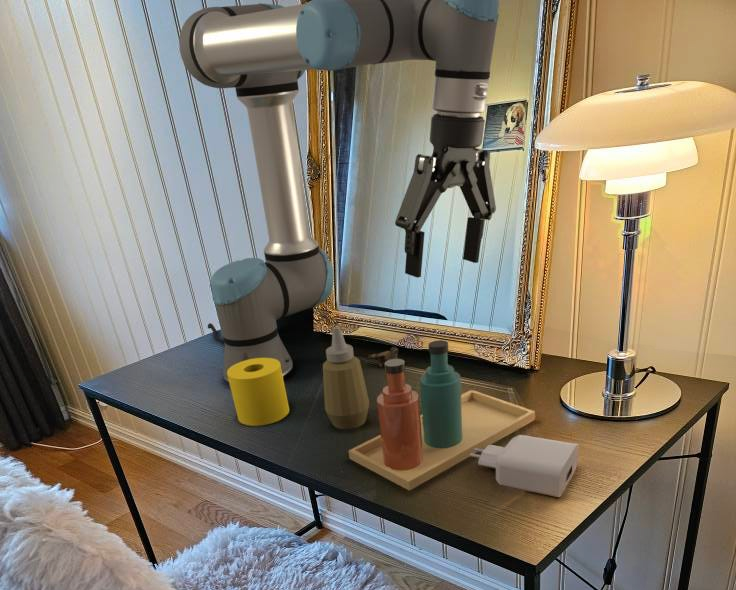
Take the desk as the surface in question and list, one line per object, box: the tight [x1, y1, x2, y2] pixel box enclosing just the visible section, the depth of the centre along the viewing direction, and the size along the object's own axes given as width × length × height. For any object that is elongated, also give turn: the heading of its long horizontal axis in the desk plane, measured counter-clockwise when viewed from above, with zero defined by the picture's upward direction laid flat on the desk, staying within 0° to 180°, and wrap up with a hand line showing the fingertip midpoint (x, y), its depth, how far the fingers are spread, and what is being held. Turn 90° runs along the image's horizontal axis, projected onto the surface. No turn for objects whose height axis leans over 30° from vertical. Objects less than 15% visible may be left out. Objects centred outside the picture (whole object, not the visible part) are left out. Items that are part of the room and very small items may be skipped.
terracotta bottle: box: [376, 358, 423, 470], centre depth 100 cm, size 6×6×17 cm
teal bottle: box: [419, 339, 462, 448], centre depth 104 cm, size 6×6×17 cm
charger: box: [470, 434, 580, 498], centre depth 97 cm, size 5×9×15 cm
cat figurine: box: [366, 346, 399, 368], centre depth 139 cm, size 3×8×4 cm, turn 59°
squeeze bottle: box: [322, 326, 370, 430], centre depth 113 cm, size 8×8×18 cm
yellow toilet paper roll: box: [227, 358, 290, 427], centre depth 124 cm, size 10×10×9 cm
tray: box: [348, 389, 536, 491], centre depth 109 cm, size 15×29×2 cm, turn 129°
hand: (442, 267), depth 104 cm, fingers open, 13 cm apart
